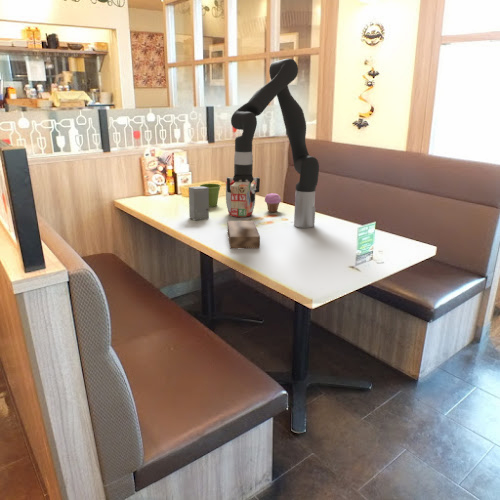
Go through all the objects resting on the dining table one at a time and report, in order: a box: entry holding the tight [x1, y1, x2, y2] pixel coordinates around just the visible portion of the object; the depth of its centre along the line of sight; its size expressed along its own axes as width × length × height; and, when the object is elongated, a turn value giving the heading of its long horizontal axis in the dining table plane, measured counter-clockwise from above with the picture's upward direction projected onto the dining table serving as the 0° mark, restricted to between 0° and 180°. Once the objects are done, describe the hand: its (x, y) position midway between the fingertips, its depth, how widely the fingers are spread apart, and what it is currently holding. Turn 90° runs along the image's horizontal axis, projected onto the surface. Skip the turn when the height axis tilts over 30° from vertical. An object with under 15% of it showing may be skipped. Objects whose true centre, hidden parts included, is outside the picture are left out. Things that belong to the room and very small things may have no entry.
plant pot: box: [199, 183, 222, 207], centre depth 250 cm, size 12×12×11 cm
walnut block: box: [226, 220, 261, 250], centre depth 193 cm, size 12×24×5 cm, turn 6°
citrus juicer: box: [224, 180, 256, 218], centre depth 230 cm, size 16×17×20 cm
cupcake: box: [264, 192, 282, 213], centre depth 239 cm, size 9×9×10 cm
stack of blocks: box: [230, 182, 255, 217], centre depth 188 cm, size 21×6×12 cm, turn 170°
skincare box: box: [188, 185, 210, 221], centre depth 223 cm, size 8×7×16 cm
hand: (243, 202), depth 188 cm, fingers closed on stack of blocks, 7 cm apart
